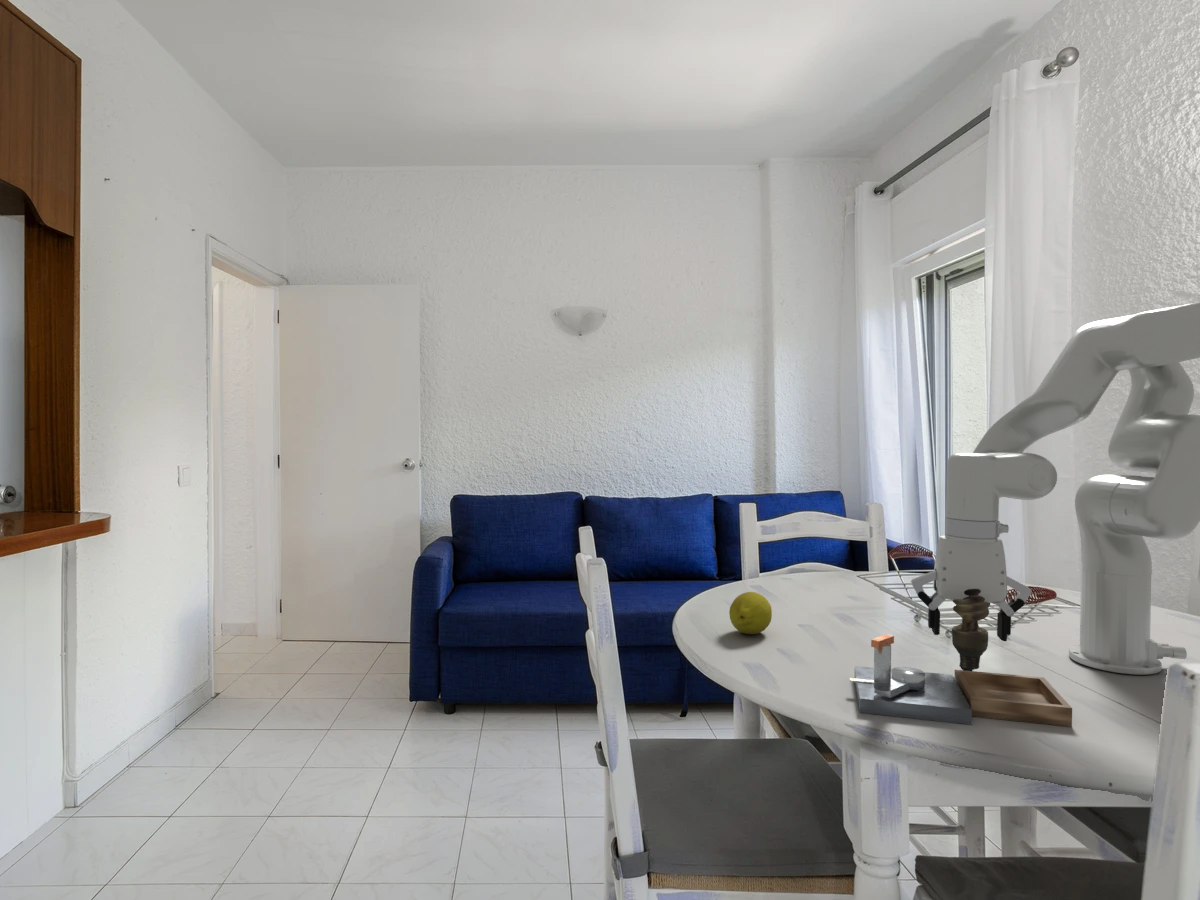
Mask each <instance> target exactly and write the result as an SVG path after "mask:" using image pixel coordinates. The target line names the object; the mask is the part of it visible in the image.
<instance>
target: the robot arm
mask: <svg viewBox="0 0 1200 900" xmlns="http://www.w3.org/2000/svg"><path fill="white" fill-rule="evenodd" d="M1199 358H1200V301H1195V302H1192V303H1191V302H1190V303H1185V304H1180V305H1175V306H1170V307H1169V306H1167V307H1163V308H1157V309H1156V308H1155V309H1152V310H1151V309H1150V310H1147V311H1142V312H1138V313H1135V314H1134V313H1133V314H1130V315H1123V316H1118V317H1111V318H1106V319H1101V320H1096V321H1092V322H1088V323H1086V324H1084V325H1082V326H1081V327H1079V328H1078V329H1077V330H1076V331H1075V332H1074V333H1073V334H1072V336H1071V338H1070V339H1069V340H1068V342H1067V343H1066V345H1065V346H1064V347H1063V350H1061V352H1060V354H1059V356H1058V357H1057V359H1056V360H1055V361H1054V363H1053V364H1052V366H1051V368H1049V370H1048V372H1047V374H1046V375H1045V377H1044V378H1043V379H1042V382H1041V383H1040V385H1038V387H1037V388H1036V390H1035V391H1034V392H1033V393H1032V394H1030V396H1028V397H1027V398H1026V397H1025V399H1024V400H1022V401H1021V402H1020V403H1018V404H1017V405H1016V406H1014V407H1013V408H1012V409H1010V410H1009V411H1008V412H1007V413H1005V414H1004V415H1003V416H1001V418H999V419H998V420H997V421H995V423H994V424H993V425H992V426H990V427H989V429H988V430H987V431H986V432H985V433H984V435H983V436H982V438H981V439H980V441H979V442H978V444H977V445H976V447H975V448H974V450H973V452H958V453H953V454H952V455H950V456H948V458H947V462H946V487H945V488H946V489H945V490H946V491H945V493H946V494H945V496H946V497H945V522H944V523H945V525H944V526H945V528H944V535H940V536H939V537H938V542H937V546H936V551H935V558H934V568H933V570H931V571H929V572H927V573H924V574H922V575H920V576H917V577H914V578H912V579H911V580H910V583H911V585H912V588H913V589H914V591H915V593H916V596H917V597H918V598H919V599H920V600H921V602H923V604H924V605H926V607H927V608H928V609H927V611H928V614H927V616H928V617H927V619H928V620H927V625H928V626H927V627H928V628H929V629H931V630H932V633H933V635H935V636H939V635H940V634H941V633H940V632H941V631H940V630H941V629H940V628H941V627H940V626H941V611H940V610H939V607H940V606H941V605H942V604H943V603H944V602H945V601H946V600H947V601H952V600H956V601H959V600H962V599H964V598H966V597H969V596H968V595H965V594H964V591H966V590H968V589H980V590H981V592H980V593H979V594H978V595H979V596H982V597H984V598H985V601H984V602H985V603H990V604H996V605H997V606H998V608H999V609H1000V610H999V611H998V612H997V617H996V618H997V619H996V620H997V621H996V623H997V625H996V635H997V637H998V638H999V640H1001V641H1002V642H1007V641H1008V636H1011V631H1012V617H1013V616H1015V613H1016V612H1017V611H1019V610H1020V609H1021V608H1023V607H1024V606H1025V604H1026V601H1027V600H1028V599H1029V597H1030V596H1031V594H1032V589H1031V588H1030V587H1028V586H1027V585H1025V584H1023V583H1021V582H1019V581H1018V580H1015V579H1013V578H1012V577H1009V576H1008V574H1007V573H1008V572H1007V563H1006V562H1007V561H1006V554H1005V548H1004V543H1003V540H1002V539H999V538H1000V535H1001V534H1008V533H1009V529H1010V527H1009V524H1006V523H1005V524H1004V523H1003V522H1002V523H1001V522H1000V520H999V515H1000V514H999V509H1000V498H1001V499H1002V498H1008V499H1015V500H1021V501H1033V500H1038V499H1041V498H1045V497H1047V495H1049V494H1050V493H1051V492H1052V491H1053V490H1054V488H1055V487H1056V485H1057V482H1058V472H1057V470H1056V467H1055V465H1054V464H1053V463H1052V462H1051V461H1050V460H1049V459H1048V458H1047V457H1044V456H1042V455H1040V454H1036V453H1031V452H1024V451H1026V449H1028V448H1029V447H1030V446H1031V445H1033V444H1034V443H1036V442H1038V441H1039V440H1041V439H1043V438H1044V437H1047V436H1050V435H1051V434H1053V433H1057V432H1059V431H1063V430H1065V429H1067V428H1070V427H1072V426H1074V425H1077V424H1079V423H1080V422H1082V421H1084V420H1086V419H1087V418H1088V417H1089V416H1090V415H1092V413H1093V411H1094V409H1095V408H1096V406H1097V404H1098V403H1099V401H1100V400H1101V398H1102V397H1103V395H1104V394H1105V392H1106V390H1107V388H1108V387H1109V386H1110V384H1111V383H1112V382H1113V380H1114V378H1115V377H1116V375H1117V374H1118V373H1119V372H1122V371H1125V370H1126V371H1127V370H1128V372H1129V374H1130V379H1131V380H1130V382H1131V383H1130V384H1131V386H1130V390H1129V394H1128V396H1127V398H1126V399H1127V400H1126V402H1125V405H1124V407H1123V409H1122V411H1121V413H1120V416H1119V418H1118V421H1117V423H1116V425H1115V427H1114V430H1113V432H1112V435H1111V438H1110V440H1109V444H1108V449H1107V450H1108V457H1109V459H1110V461H1111V462H1112V463H1113V464H1114V465H1116V466H1117V467H1118V468H1120V469H1124V470H1127V471H1131V472H1139V473H1148V474H1155V476H1154V477H1153V476H1141V475H1131V474H1115V473H1110V474H1108V473H1107V474H1099V475H1094V476H1092V477H1090V478H1089V479H1087V480H1085V481H1083V482H1082V484H1081V485H1080V486H1079V487H1078V489H1077V491H1076V493H1075V496H1074V497H1075V498H1074V507H1075V514H1076V520H1077V522H1078V523H1077V524H1078V529H1079V534H1080V552H1081V553H1080V555H1081V558H1080V563H1081V564H1080V565H1081V566H1080V567H1081V568H1080V605H1079V606H1080V609H1079V610H1080V612H1079V614H1080V615H1079V616H1080V617H1079V618H1080V619H1079V620H1080V621H1079V644H1078V645H1073V646H1071V647H1069V649H1068V656H1069V658H1071V660H1073V661H1074V662H1076V663H1078V664H1081V665H1083V666H1086V667H1089V668H1092V669H1096V670H1100V671H1105V672H1110V673H1115V674H1116V673H1117V674H1124V675H1125V674H1126V675H1138V676H1140V675H1143V676H1144V675H1145V676H1147V675H1155V674H1158V673H1160V672H1161V671H1162V670H1163V667H1162V666H1163V664H1162V662H1161V661H1160V660H1163V659H1164V658H1171V659H1176V660H1177V659H1178V660H1179V659H1180V660H1185V659H1187V656H1188V653H1187V649H1186V648H1185V647H1184V646H1176V645H1175V646H1173V645H1169V643H1165V642H1164V643H1162V642H1158V641H1155V640H1153V639H1152V638H1151V614H1152V613H1151V611H1152V610H1151V609H1152V608H1151V607H1152V604H1151V603H1152V574H1153V572H1152V570H1153V566H1152V557H1151V553H1150V550H1149V548H1148V547H1149V546H1148V545H1147V543H1146V540H1145V539H1144V537H1147V538H1152V539H1160V540H1178V539H1182V538H1184V537H1186V536H1188V535H1190V534H1191V533H1192V532H1193V531H1195V529H1196V528H1197V526H1198V525H1199V523H1200V415H1199V414H1189V413H1190V411H1191V407H1192V404H1193V401H1194V398H1195V396H1194V395H1195V387H1194V384H1193V381H1192V379H1191V377H1190V376H1189V374H1188V372H1187V371H1186V370H1185V369H1184V367H1183V365H1182V364H1181V363H1182V362H1186V361H1190V360H1195V359H1199ZM931 582H932V584H933V585H932V586H933V590H934V593H932V595H931V596H929V595H928V594H927V593H926V592H925V590H924V585H927V584H929V583H931ZM1008 587H1010V588H1011V589H1014V590H1015V591H1017V594H1016V596H1015V597H1014V598H1012V599H1011V600H1010V601H1008V602H1007V601H1006V600H1007V596H1008Z"/></svg>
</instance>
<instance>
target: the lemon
mask: <svg viewBox="0 0 1200 900" xmlns="http://www.w3.org/2000/svg"><path fill="white" fill-rule="evenodd" d="M772 612H773V611H772V605H771V603H770V601H769V600H768V599H767V598H766V597H765V596H764V595H762V594H760V593H758V592H756V591H755V592H754V591H746V592H743V593H741V594H739V595H738V596H736V597H735V598H734V599H733V601H732V603H731V604H730V607H729V612H728V613H729V620H730V622H731V624H732V626H733V627H734V628H735V629H736V630H737V631H739V632H740V633H742V634H745V635H757V634H760V633H762V632H763V631H765V630H766V629H767V628H768V627H769V626H770V623H771V621H772V618H773V617H772V615H773V614H772Z"/></svg>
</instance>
